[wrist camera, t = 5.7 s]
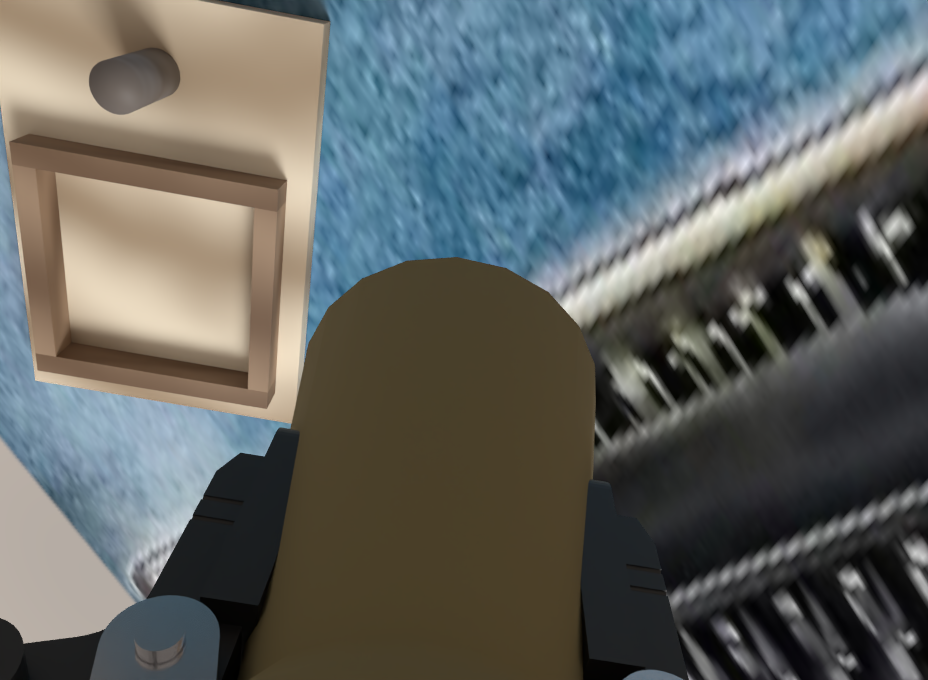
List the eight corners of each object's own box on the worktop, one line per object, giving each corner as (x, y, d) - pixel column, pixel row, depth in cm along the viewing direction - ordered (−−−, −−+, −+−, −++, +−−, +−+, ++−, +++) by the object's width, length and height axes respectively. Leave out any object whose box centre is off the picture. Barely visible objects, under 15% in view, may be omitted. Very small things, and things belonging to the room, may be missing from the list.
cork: (525, 539, 17) (551, 1330, 7) (271, 454, 16) (-78, 1219, 6) (650, 323, 14) (965, 1141, 4) (352, 209, 13) (-45, 903, 4)
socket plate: (1, -41, 24) (-85, -39, 21) (330, 21, 25) (301, 33, 21) (48, 368, 32) (-8, 420, 28) (300, 410, 32) (275, 467, 29)
